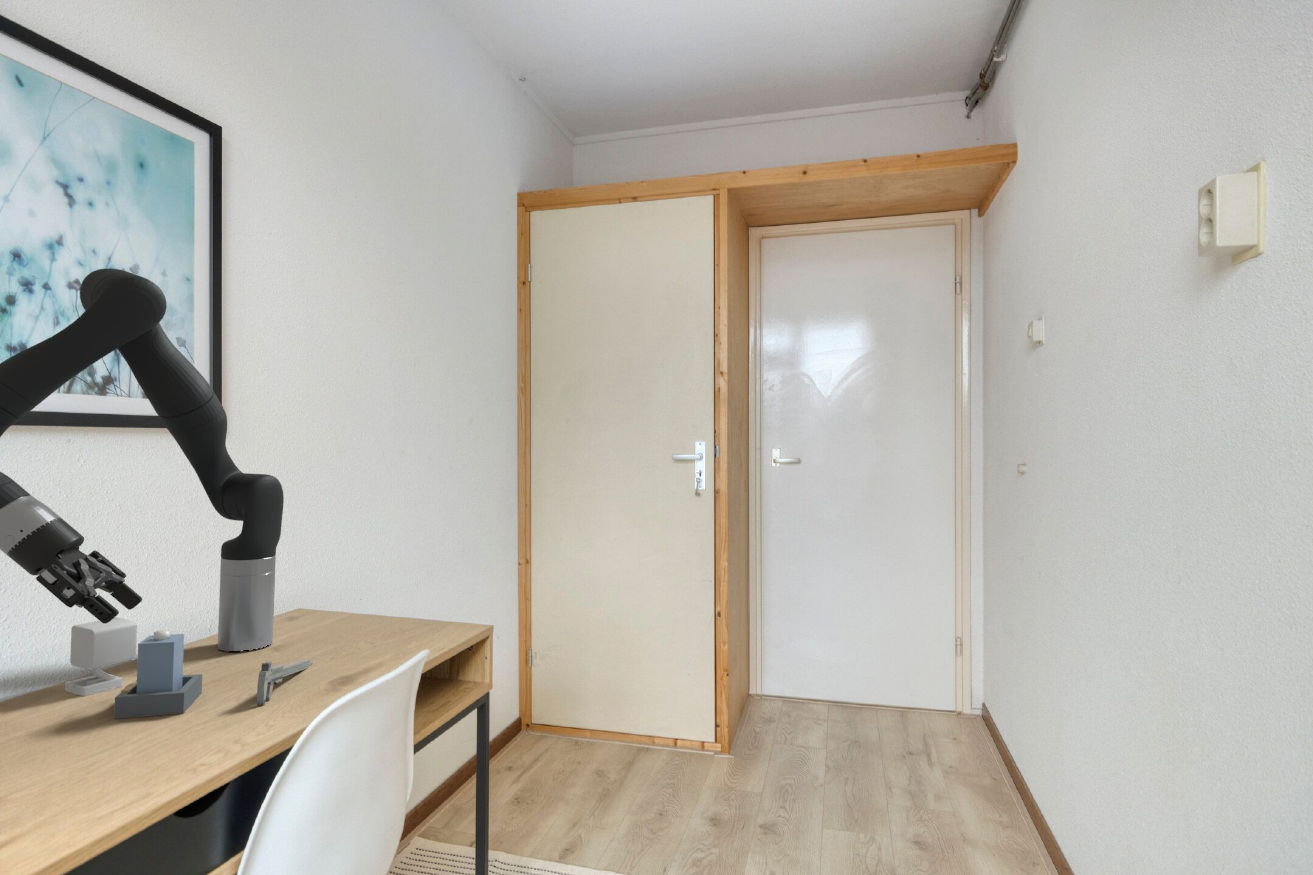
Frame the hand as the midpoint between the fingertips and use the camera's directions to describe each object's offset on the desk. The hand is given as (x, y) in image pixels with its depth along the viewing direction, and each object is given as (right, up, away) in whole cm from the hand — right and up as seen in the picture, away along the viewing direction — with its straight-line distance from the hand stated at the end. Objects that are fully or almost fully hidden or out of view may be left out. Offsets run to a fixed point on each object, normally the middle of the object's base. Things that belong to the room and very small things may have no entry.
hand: (125, 611), depth 104 cm
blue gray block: (+4, -14, +1) cm, 15 cm away
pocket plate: (+4, -14, +1) cm, 15 cm away
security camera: (-10, -14, +8) cm, 20 cm away
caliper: (+17, -15, +12) cm, 26 cm away
